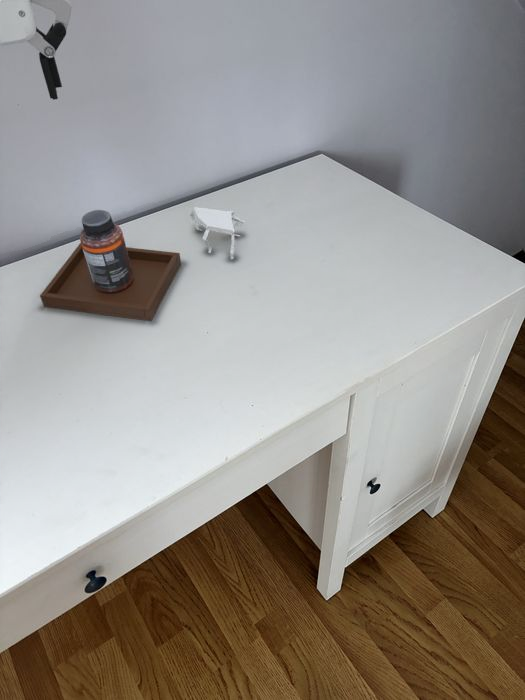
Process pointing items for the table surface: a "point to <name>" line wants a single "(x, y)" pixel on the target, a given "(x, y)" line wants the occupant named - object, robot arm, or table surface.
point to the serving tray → (132, 302)
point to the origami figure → (216, 223)
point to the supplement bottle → (105, 252)
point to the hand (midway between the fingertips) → (6, 101)
